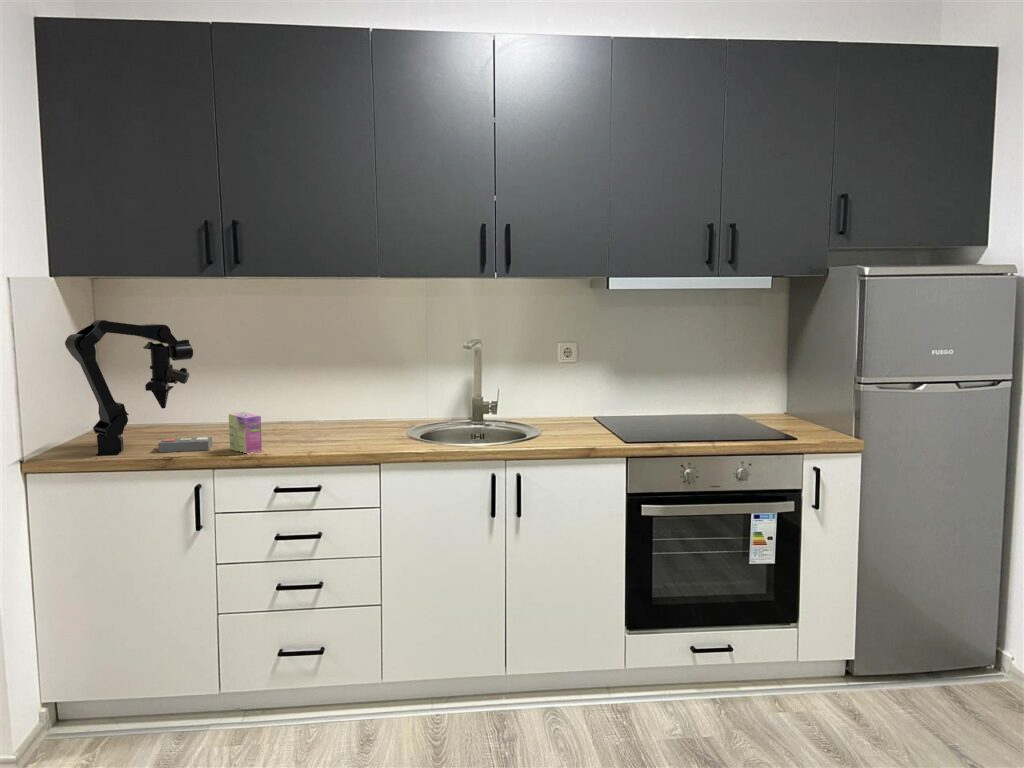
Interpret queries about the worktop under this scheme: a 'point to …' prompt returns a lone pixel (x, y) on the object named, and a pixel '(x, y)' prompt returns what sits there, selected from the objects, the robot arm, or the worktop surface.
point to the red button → (169, 440)
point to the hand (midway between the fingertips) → (163, 408)
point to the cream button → (202, 438)
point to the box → (245, 432)
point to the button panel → (184, 445)
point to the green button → (185, 439)
